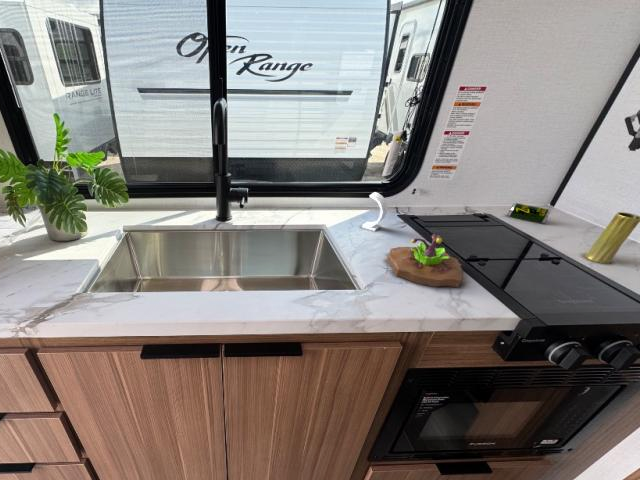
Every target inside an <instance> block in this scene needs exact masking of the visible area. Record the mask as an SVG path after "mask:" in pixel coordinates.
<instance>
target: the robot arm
mask: <svg viewBox="0 0 640 480" xmlns="http://www.w3.org/2000/svg"><path fill="white" fill-rule="evenodd" d="M636 118H637V121H638V122H637V123H638V125H640V109H639V110H638V111H637V112H636V113H633V114H631V115H630V116H626V117H625V118H624V123H625V125H626V129H627V132H628V135H629V136H631V137H633V138H632V140H631V142H630V143H629V144H628V146H627V148H628V151H631V152H636V151H637V150H640V126H639V128H638V129H637V131H636V130H635V129H634V128H635V127H634V125H633V123H634V122H635V121H636Z"/></svg>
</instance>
